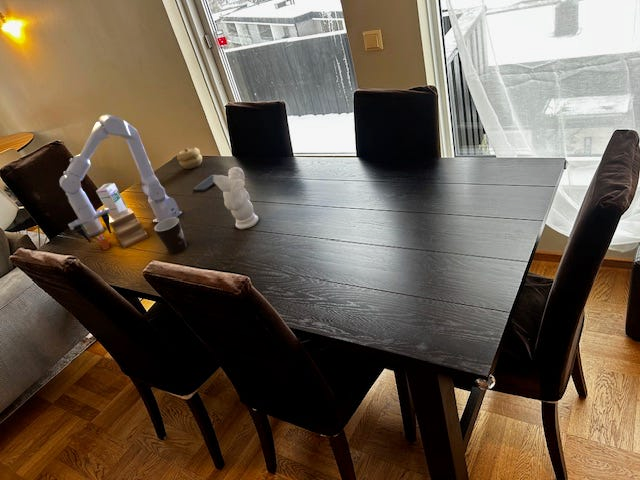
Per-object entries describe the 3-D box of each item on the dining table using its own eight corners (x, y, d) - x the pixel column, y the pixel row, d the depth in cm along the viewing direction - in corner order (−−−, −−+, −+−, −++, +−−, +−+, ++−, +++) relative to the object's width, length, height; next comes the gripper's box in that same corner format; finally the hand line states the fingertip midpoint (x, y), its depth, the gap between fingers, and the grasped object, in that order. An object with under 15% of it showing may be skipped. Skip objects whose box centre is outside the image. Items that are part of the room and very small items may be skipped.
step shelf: (148, 237, 171) (141, 222, 168) (124, 248, 167) (116, 234, 164) (137, 221, 186) (130, 207, 183) (114, 231, 182) (106, 217, 179)
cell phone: (224, 176, 206) (224, 174, 206) (205, 190, 197) (204, 189, 196) (213, 175, 210) (212, 174, 209) (193, 190, 200) (192, 188, 200)
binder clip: (110, 247, 171) (104, 237, 168) (104, 250, 170) (98, 240, 167) (108, 243, 174) (102, 233, 172) (102, 246, 173) (96, 236, 171)
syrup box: (122, 218, 192) (106, 188, 184) (111, 220, 193) (95, 190, 186) (130, 212, 196) (114, 182, 189) (118, 213, 198) (103, 183, 190)
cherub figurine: (252, 213, 168) (233, 159, 156) (272, 220, 159) (254, 163, 148) (226, 229, 162) (204, 174, 150) (245, 237, 153) (224, 179, 142)
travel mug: (89, 238, 182) (63, 195, 172) (88, 232, 188) (63, 190, 177) (104, 232, 184) (80, 189, 174) (103, 226, 189) (79, 184, 179)
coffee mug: (177, 257, 153) (165, 232, 147) (161, 253, 157) (149, 229, 152) (200, 238, 160) (190, 214, 155) (184, 235, 165) (174, 212, 160)
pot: (178, 173, 225) (170, 154, 220) (187, 163, 234) (180, 145, 229) (199, 169, 222) (191, 151, 217) (207, 160, 231) (200, 141, 226)
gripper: (63, 217, 157) (82, 249, 164) (104, 200, 162) (121, 232, 169) (61, 212, 162) (79, 243, 169) (101, 195, 168) (117, 226, 175)
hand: (100, 237), depth 170 cm, fingers open, 7 cm apart
